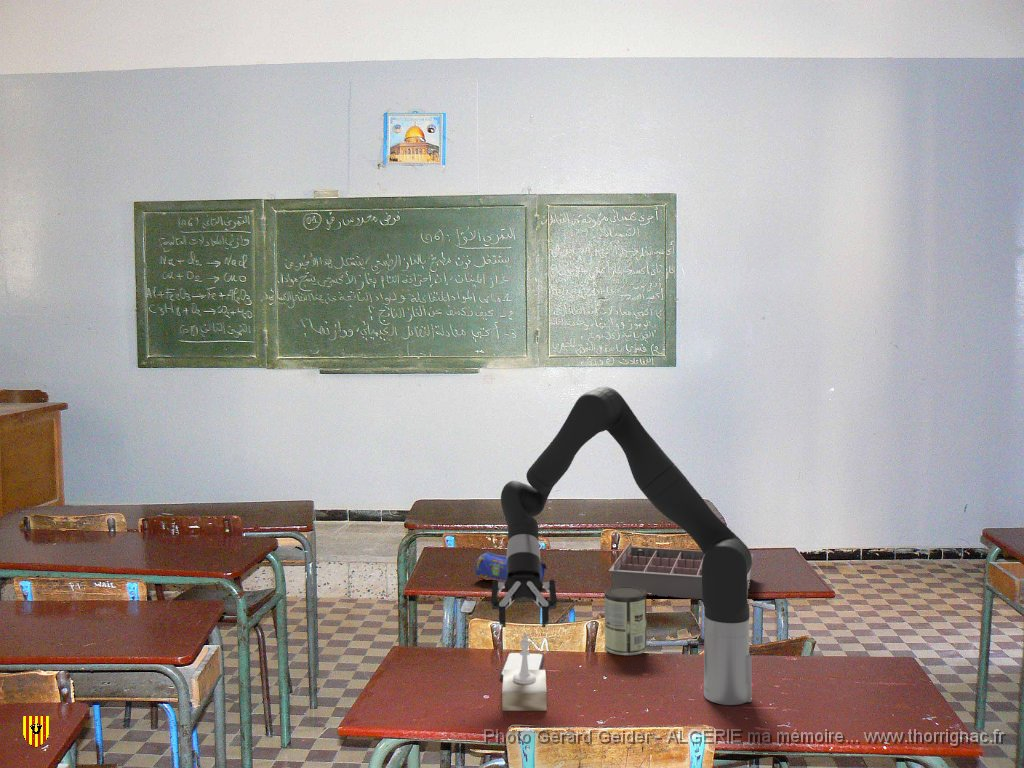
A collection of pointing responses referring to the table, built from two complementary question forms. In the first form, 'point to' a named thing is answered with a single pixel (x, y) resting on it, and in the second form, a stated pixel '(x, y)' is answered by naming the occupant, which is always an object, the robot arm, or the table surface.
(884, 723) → the table surface
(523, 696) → the birch stand
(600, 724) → the table surface
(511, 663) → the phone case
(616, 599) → the coffee can
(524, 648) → the chess piece
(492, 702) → the table surface
